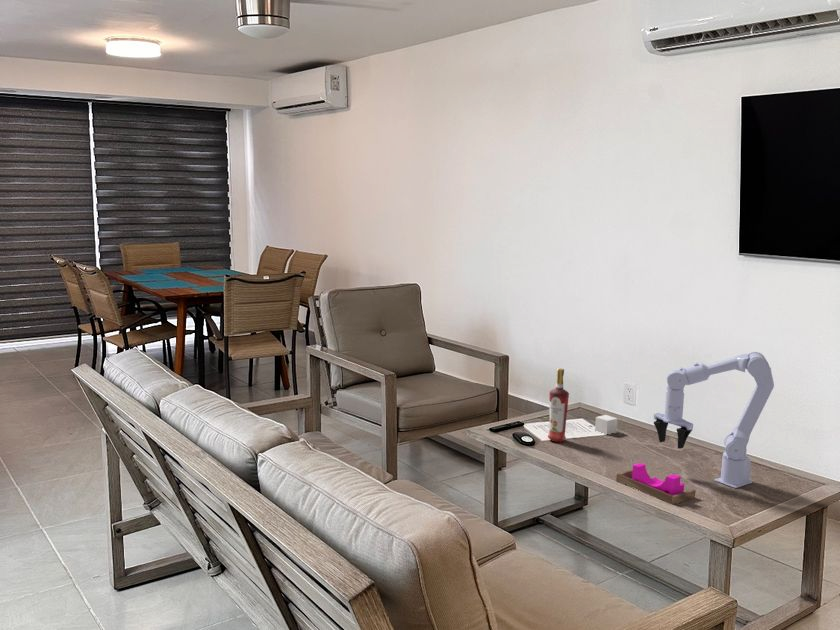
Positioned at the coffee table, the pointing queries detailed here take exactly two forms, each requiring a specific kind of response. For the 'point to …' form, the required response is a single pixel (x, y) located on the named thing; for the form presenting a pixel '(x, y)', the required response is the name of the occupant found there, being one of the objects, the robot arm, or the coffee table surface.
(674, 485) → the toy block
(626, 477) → the tray
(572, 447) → the coffee table surface
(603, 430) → the white cube
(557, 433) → the liquor
